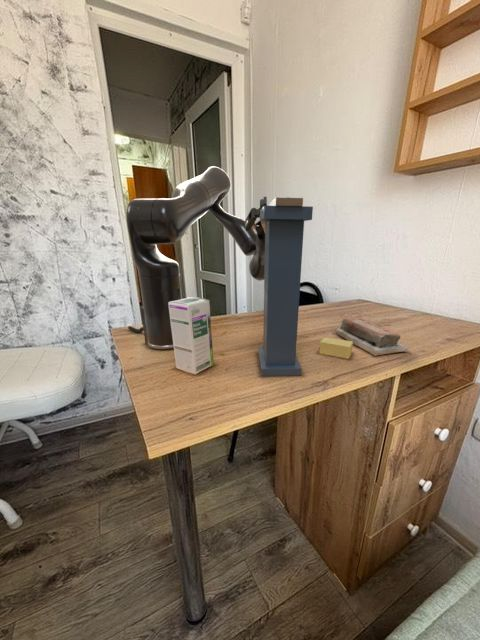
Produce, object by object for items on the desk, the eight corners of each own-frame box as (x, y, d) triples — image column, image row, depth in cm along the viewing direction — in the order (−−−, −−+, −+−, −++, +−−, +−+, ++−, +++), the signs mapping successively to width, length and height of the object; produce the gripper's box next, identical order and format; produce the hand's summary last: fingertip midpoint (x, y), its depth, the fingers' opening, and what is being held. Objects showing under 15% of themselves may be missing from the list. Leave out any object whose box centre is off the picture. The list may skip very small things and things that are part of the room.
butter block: (319, 353, 71) (320, 341, 70) (323, 348, 74) (324, 336, 73) (348, 359, 68) (350, 347, 67) (351, 353, 71) (353, 341, 70)
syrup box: (195, 375, 59) (189, 304, 54) (174, 368, 62) (167, 300, 56) (214, 365, 63) (210, 299, 58) (194, 359, 66) (189, 295, 61)
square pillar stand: (261, 376, 59) (264, 205, 48) (258, 353, 70) (259, 210, 59) (300, 375, 60) (313, 206, 48) (291, 352, 71) (299, 211, 59)
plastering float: (335, 317, 83) (365, 314, 86) (333, 333, 85) (362, 330, 88) (377, 337, 67) (412, 333, 70) (374, 357, 69) (408, 352, 72)
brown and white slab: (275, 205, 47) (276, 192, 46) (264, 213, 69) (264, 205, 69) (302, 206, 47) (303, 193, 47) (283, 214, 70) (283, 205, 69)
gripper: (243, 227, 80) (243, 183, 63) (295, 228, 81) (308, 185, 64) (243, 253, 79) (243, 216, 62) (296, 254, 80) (310, 217, 63)
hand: (276, 200), depth 63 cm, fingers open, 4 cm apart
